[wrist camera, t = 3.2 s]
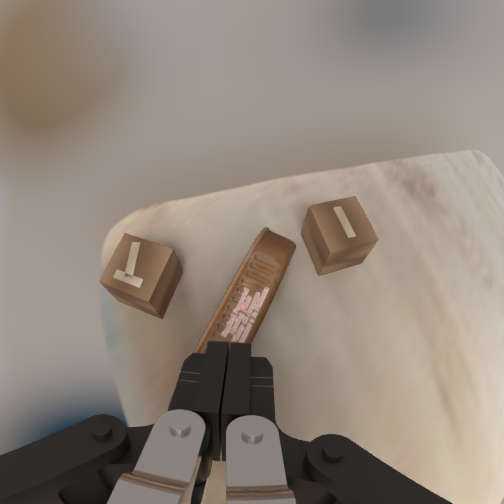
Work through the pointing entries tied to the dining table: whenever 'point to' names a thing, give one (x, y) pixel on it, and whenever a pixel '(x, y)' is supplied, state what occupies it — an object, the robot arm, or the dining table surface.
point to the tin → (250, 291)
